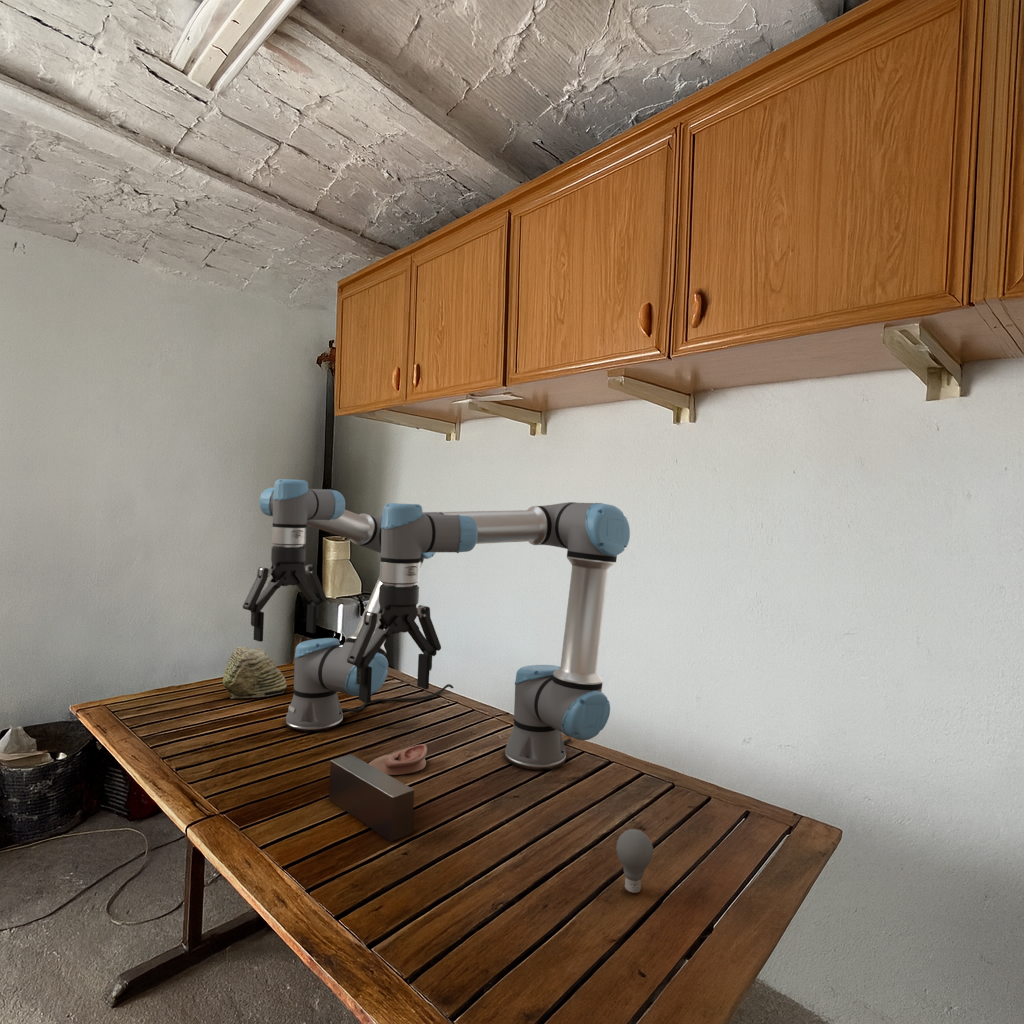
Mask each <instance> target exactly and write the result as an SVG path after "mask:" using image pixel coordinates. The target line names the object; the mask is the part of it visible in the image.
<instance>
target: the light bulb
mask: <svg viewBox="0 0 1024 1024" xmlns="http://www.w3.org/2000/svg"><path fill="white" fill-rule="evenodd" d="M615 849H616V854H617V857H618V859H619V861H620V863H621V865H622V867H623V873H624V874H623V875H624V876H625V878H624V888H625V890H627V891H628V892H630V893H634V894H635V893H639V892H640V891H641V889H642V887H641V886H642V879H643V877H644V875H645V871H646V868H647V867H648V866H649V864H650V863H651V861H652V859H653V855H654V847H653V843H652V841H651V838H649V836H648V835H647V834H646V833H645V832H643V831H642V830H641V829H636V828H629V829H627V830H625V831H623V832H622V833H621V834H620V835H619V837H618V839H617V841H616V847H615Z"/></svg>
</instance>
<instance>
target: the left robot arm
mask: <svg viewBox="0 0 1024 1024" xmlns="http://www.w3.org/2000/svg"><path fill="white" fill-rule="evenodd" d="M258 506H259V509H260V511H261V513H262V514H264V515H266V516H268V517H271V518H272V527H271V528H272V530H271V544H272V545H273V546H272V547H271V551H270V552H271V553H270V554H271V555H270V561H271V566H270V568H268V567H262V566H259V567H258V568H257V572H256V573H257V574H256V578H255V580H254V582H253V584H252V586H251V588H250V590H249V592H248V594H247V596H246V598H245V600H244V602H243V604H242V609H243V610H246V611H249V612H250V625H251V627H253V639H252V640H254V641H256V642H264V626H265V625H264V624H265V623H264V621H265V612H264V611H261V610H263V608H264V607H265V606H266V605H267V603H268V602H269V601H270V599H271V598H272V597H273V595H274V594H275V593H276V591H277V590H279V589H280V588H281V587H287V586H297V588H298V589H299V590H300V591H301V593H302V594H303V595H304V597H305V598H306V600H307V601H308V602H309V604H307V605H306V630H305V632H307V633H310V634H316V633H317V632H316V630H317V629H316V628H317V619H319V616H320V615H319V612H320V607H321V606H322V604H323V603H325V602H327V599H328V598H327V596H326V594H325V590H324V588H323V586H322V584H321V581H320V578H319V576H318V573H317V566H316V565H315V564H309V563H308V564H306V565H305V562H306V552H307V551H306V550H307V549H306V546H304V545H306V544H307V526H308V527H312V528H315V529H318V530H321V531H324V532H327V533H330V534H333V535H336V536H340V537H342V538H346V539H349V541H350V542H351V543H352V544H355V545H357V546H360V547H363V548H365V549H368V550H371V551H374V552H376V553H380V554H381V525H382V516H380V515H371V514H369V513H365V512H364V513H356V512H353V511H351V510H349V509H348V510H347V509H346V499H345V497H344V495H343V493H341V492H340V491H338V490H335V489H331V488H329V489H328V488H327V489H324V488H323V489H322V488H321V489H320V488H309V483H308V481H307V480H305V479H292V478H291V479H288V478H279V479H277V480H275V482H274V485H273V487H268V488H266V489H264V490H263V491H262V492H261V494H260V496H259V500H258ZM436 553H437V552H427V553H422V552H421V556H420V568H422V566H423V563H424V560H429V559H431V558H433V557H434V556H435V554H436ZM304 574H305V575H306V577H307V579H308V581H309V584H310V586H311V587H310V586H309V585H308V583H307V581H306V579H305V578H304V577H303V576H304ZM270 576H271V578H270V579H269V581H267V580H268V578H269V577H270ZM379 577H380V575H379ZM379 577H378V579H377V581H376V583H375V584H374V585H375V586H374V588H373V590H372V592H371V594H370V596H369V599H368V601H367V604H366V606H365V609H364V611H363V613H362V615H361V618H360V620H359V622H358V625H357V627H356V629H355V632H354V633H353V634H352V635H350V636H347V637H346V638H345V641H344V643H343V645H342V646H340V644H341V643H340V640H339V639H338V638H335V637H324V638H323V637H322V638H313V639H308V640H304V641H302V642H299V643H298V644H297V645H296V647H295V652H294V653H295V654H294V657H293V659H294V660H293V662H294V663H293V665H294V666H293V695H292V696H293V697H292V699H291V702H290V704H289V705H288V708H287V709H288V711H287V713H286V715H285V726H286V728H287V729H289V730H291V731H294V732H295V731H296V732H301V733H316V732H325V731H329V730H332V729H335V728H337V727H339V726H340V725H342V723H343V722H344V714H343V712H353V713H354V712H355V713H356V712H360V711H362V710H363V709H364V708H365V707H366V706H367V705H369V704H372V703H381V702H382V703H383V702H406V701H409V702H411V701H421V700H426V699H430V698H432V697H433V698H434V697H436V696H438V695H440V694H442V693H443V692H444V691H445V690H446V689H447V688H450V689H454V686H453V685H452V684H450V683H447V684H446V685H445V686H443V687H442V688H441V689H440V690H438V691H436V692H434V693H431V694H428V695H424V696H418V697H397V698H396V697H395V698H376V699H371V703H365V702H363V704H361V706H359V707H357V708H342V706H341V702H340V699H339V695H338V693H342V694H346V695H350V696H352V697H359V684H357V682H356V676H357V675H356V674H357V667H356V666H355V665H352V664H350V663H348V662H347V659H348V656H349V654H350V652H351V650H352V647H353V645H354V643H355V641H356V638H357V636H358V634H359V632H360V629H361V627H362V625H363V621H364V614H365V612H366V611H369V612H373V613H378V612H379V610H380V604H379V586H380V585H381V584H383V583H382V582H380V581H379ZM266 583H267V585H266ZM265 585H266V587H265ZM378 621H379V620H378ZM379 624H380V621H379V622H378V623H377V624H376V627H375V629H376V628H377V626H378V625H379ZM383 630H385V629H383ZM374 633H375V630H374V632H373V635H374ZM373 635H372V636H373ZM371 638H372V637H371ZM386 640H387V639H386ZM386 640H385V641H384V643H383V644H382V646H381V647H380V649H379V650H378V652H377V653H376V655H375V656H374V658H373V659H372V661H371V662H370V664H369V665H368V666H370V667H372V680H371V696H372V695H373V694H376V693H377V692H378V691H379V690H380V689H381V688H382V687H383V685H384V684H385V682H386V679H387V677H388V673H389V669H388V668H389V662H388V659H387V657H386V655H387V650H386V648H385V643H386Z"/></svg>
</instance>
